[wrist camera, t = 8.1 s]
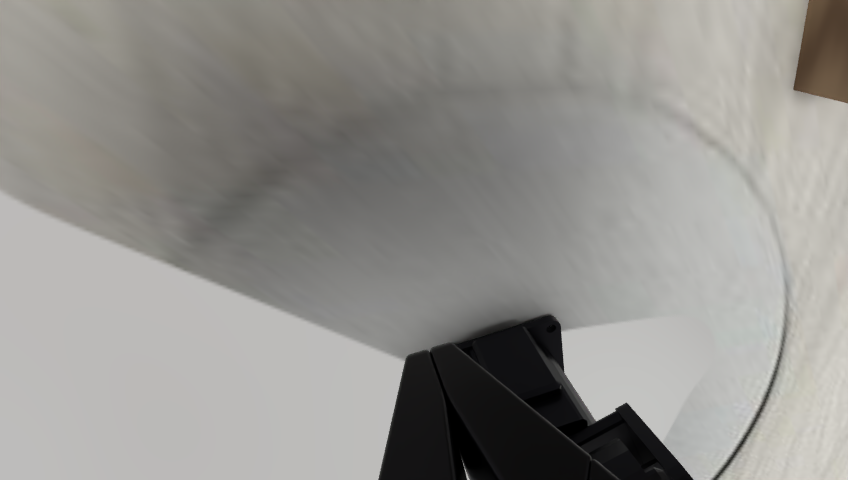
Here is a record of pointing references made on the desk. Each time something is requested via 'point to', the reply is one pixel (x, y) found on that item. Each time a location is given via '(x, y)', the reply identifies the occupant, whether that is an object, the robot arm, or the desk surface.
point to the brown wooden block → (824, 51)
